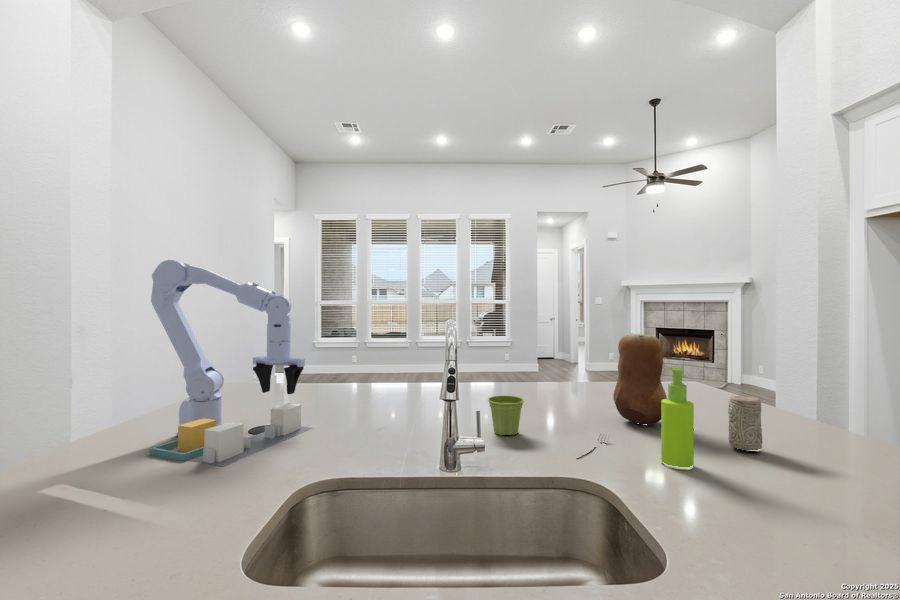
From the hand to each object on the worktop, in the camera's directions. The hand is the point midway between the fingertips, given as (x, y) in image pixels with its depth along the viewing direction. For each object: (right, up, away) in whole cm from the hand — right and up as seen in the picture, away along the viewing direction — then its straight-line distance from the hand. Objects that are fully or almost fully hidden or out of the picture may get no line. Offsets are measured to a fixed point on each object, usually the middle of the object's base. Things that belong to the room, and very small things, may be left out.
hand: (278, 392), depth 112 cm
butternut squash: (+98, -10, +6) cm, 99 cm away
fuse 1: (-1, -8, -24) cm, 25 cm away
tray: (-10, -9, -19) cm, 23 cm away
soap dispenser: (+93, -10, -24) cm, 96 cm away
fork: (+78, -10, -15) cm, 80 cm away
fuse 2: (+5, -8, -7) cm, 12 cm away
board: (+2, -9, -16) cm, 18 cm away
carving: (+113, -10, -15) cm, 114 cm away
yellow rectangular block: (-10, -9, -19) cm, 23 cm away
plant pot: (+60, -10, -3) cm, 61 cm away
